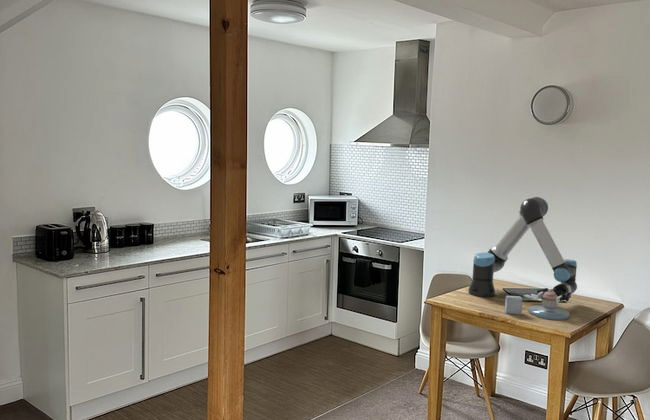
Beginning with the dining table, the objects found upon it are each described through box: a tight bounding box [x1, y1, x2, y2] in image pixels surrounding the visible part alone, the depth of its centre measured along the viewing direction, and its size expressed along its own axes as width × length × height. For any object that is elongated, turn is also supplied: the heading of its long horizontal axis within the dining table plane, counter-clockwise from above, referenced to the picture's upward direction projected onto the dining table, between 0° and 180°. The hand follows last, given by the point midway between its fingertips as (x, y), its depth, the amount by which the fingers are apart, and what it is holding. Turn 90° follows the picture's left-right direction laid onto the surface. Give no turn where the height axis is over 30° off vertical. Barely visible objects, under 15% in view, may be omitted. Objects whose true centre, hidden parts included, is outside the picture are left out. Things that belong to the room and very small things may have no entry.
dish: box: [528, 305, 570, 321], centre depth 317 cm, size 20×20×2 cm
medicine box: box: [504, 295, 523, 315], centre depth 316 cm, size 8×4×9 cm, turn 84°
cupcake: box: [540, 289, 559, 309], centre depth 316 cm, size 9×9×10 cm
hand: (547, 298), depth 312 cm, fingers closed on cupcake, 9 cm apart
